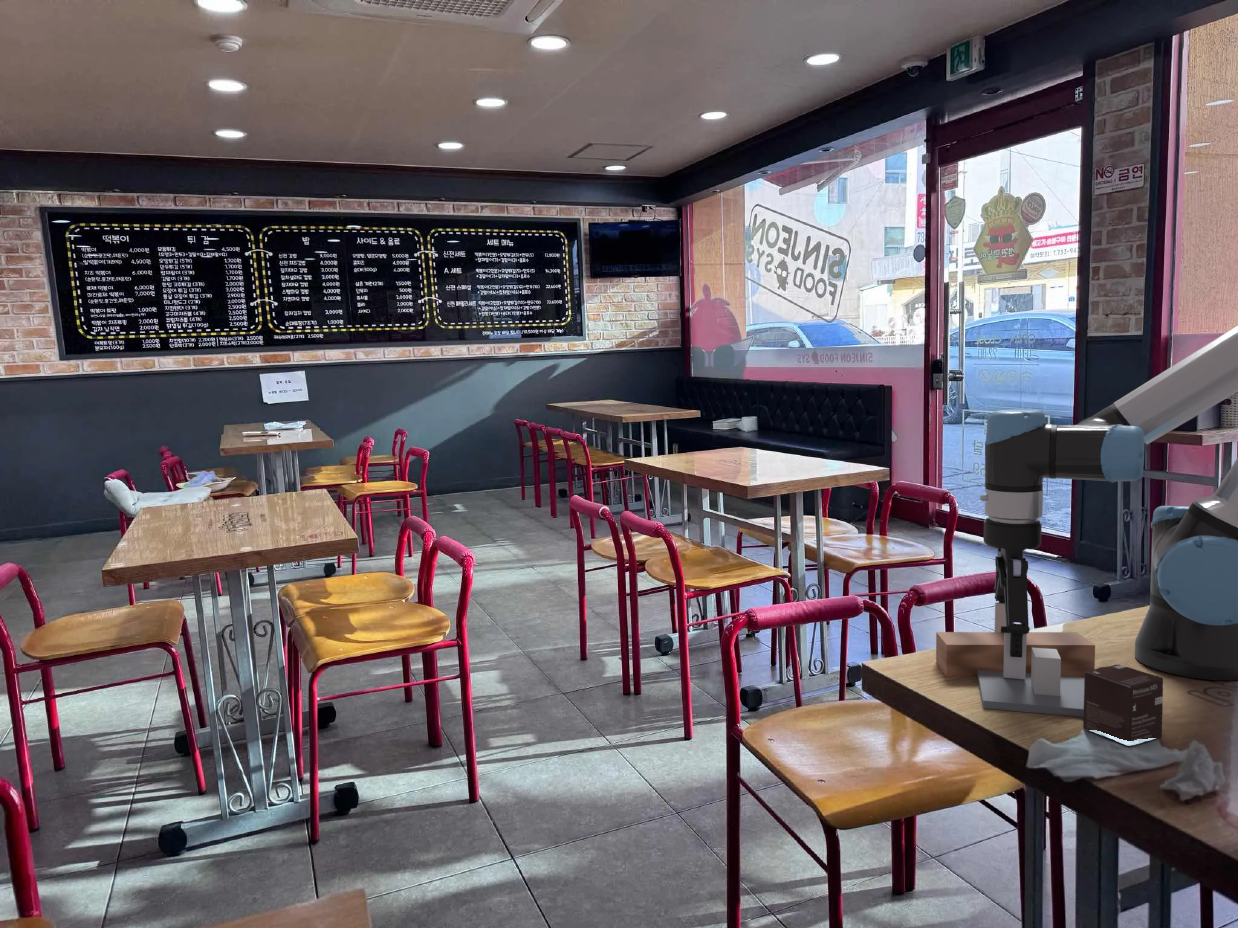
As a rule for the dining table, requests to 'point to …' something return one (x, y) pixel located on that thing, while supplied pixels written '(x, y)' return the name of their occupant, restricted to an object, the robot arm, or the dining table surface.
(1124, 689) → the box
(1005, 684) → the fulcrum
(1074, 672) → the cherry bar
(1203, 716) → the dining table surface
